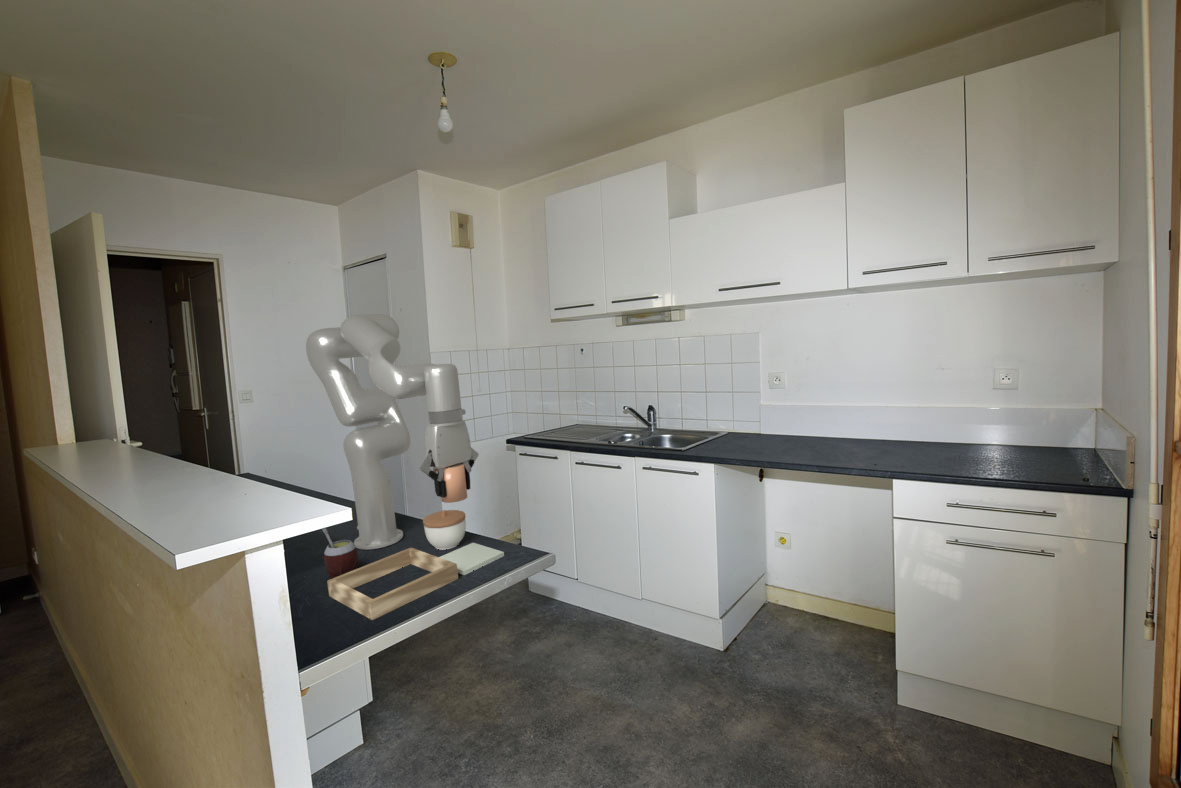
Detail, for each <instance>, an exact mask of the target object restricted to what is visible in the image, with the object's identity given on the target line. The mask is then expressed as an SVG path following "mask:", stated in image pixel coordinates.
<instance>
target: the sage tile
mask: <svg viewBox="0 0 1181 788" xmlns="http://www.w3.org/2000/svg"><path fill="white" fill-rule="evenodd" d="M438 557H439V558H442V559H445V560H447V561H450V562H453V563H456V564H457V571H458V575H459V574H460V575H462V576H466V575H467V574H470V573H472V572H474V571H476V570H478V569H480V568H483V567H485V566H487V565H489V564H491V563H493V562H495V561H497V560H499V559H501V558H503V557H505V552H504V551H501V550H498V549H495V548H492V547H488V546H486V545H482V544H479V543H475V542H471V543H469V544H467V545H464V546H462V547H460V548H457V549H455V550H453V551H452V550H451V551H450V552H448V553H446V554H443V555H441V556H438ZM482 566H483V567H482ZM473 570H474V571H473Z"/></svg>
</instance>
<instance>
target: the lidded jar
mask: <svg viewBox="0 0 1181 788" xmlns="http://www.w3.org/2000/svg"><path fill="white" fill-rule="evenodd" d="M466 522H467V521H466V513H465V512H464V511H462V510H459V509H457V510H456V509H448V510H446V509H442V510H441V511H437V512H433V513H431V514H429V515H427V516H425V517H424V518H423V520H422V524H423V528H424V530H423V531H424V534H425V536H426V539H427V541H428V542H429V544H430V545H432V546H433V547H434V548H435V549H436V550H438V549H439V550H440V551H445V550H446V549H447V550H451V549H453V548H457V547H458V546H459V545H460V542H461V541H462V540H463V539H464V537H465V534H466V526H467V524H466ZM457 545H458V546H457Z"/></svg>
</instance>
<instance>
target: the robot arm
mask: <svg viewBox="0 0 1181 788" xmlns="http://www.w3.org/2000/svg"><path fill="white" fill-rule="evenodd" d="M399 337H400V327H399V325H398V323H397V321H396V320H395V319H394V318H393V317H391V316H389V315H388V314H379V313H378V314H374V313H373V314H354V315H351V316H349V317H347V318H345V319H344V320H343V322H341V324H340V327H337V326H336V327H327V328H320V329H316V330H314V331H313V332H311V333H310V334H309V335H308V336H307V338H306V343H305V348H306V349H305V351H306V356H307V359H308V362H309V364H310V366H311V368H312V370H313V371H314V372H315V374H316V376H317V377H318V378H319V380H320V382H321V383H322V385H323V387H324V389H325V391H326V393H327V396H328V398H329V399H328V400H329V401H330V403H331V406H332V408H333V410H334V413H335V415H336V418H337V420H338V421H339V424H342V426H344V427H351V428H352V427H358V426H364V425H369V424H373V423H376V424H377V425H376V424H374V425H371V426H365V427H361V428H357V429H355V430H352V431H350V432H349V433H348V434H346V436H345V438H344V440H343V443H342V444H343V452H344V454H345V457H346V460H347V463H348V467H349V471H350V476H351V482H352V488H353V495H354V496H353V498H354V504H355V512H356V518H357V526H356V530H358V537H357V538H355V539H354V542H353V543H354V544H355V547H356V549H358V550H367V551H368V550H376V549H381V548H386V547H388V546H391V545H394V544H396V543H398V542H400V541H401V540H402V539H403V537H404V531H403V530H402V529H399V528H397V523H396V522H397V521H396V515H395V514H396V513H395V505H394V497H393V496H394V495H393V490H392V482H391V476H390V473H389V471H388V469H387V468H386V467H385V466H384V465H383V464H382V463H381V461H382V460H385V459H388V458H392V457H395V456H398V455H402V454H405V453H406V452H407V451H408V450H409V449H410V446H411V436H410V431H409V429H408V428H407V424H406V422H405V420H404V418H403V415H402V413H401V410H400V409H399V406H398V403H397V401H396V400H395V399H397V400H404V399H405V400H406V399H410V398H414V397H422V396H423V397H424V396H425V397H426V404H427V413H428V422H429V424H428V425H426V427H425V434H424V435H425V436H424V453H425V455H424V456H425V459H424V461H423V462H422V464H421V465H420V467H419V470H420V471H421V472H422V473H424V474H426V475H427V476H428V477H429V478H430V479H431V480H432V481H433V483H434V491H435V495H436V496H437V497H439V498H441V497H443V498H444V497H446V496H447V494H446V485H445V480H442V479H443V474H444V469H445V468H446V467H450V466H453V465H457V464H461V463H463V464H464V468H465V478H466V487H467V491H469V490H471V476H470V474H471V472H472V468H473V467H474V465H475V462H476V460H477V458H478V457H479V455H480V454H479V452H477V450H475V449H474V448H473V447H472V445H471V440H470V439H471V438H470V434H469V430H468V427H467V424H466V421H465V420H464V419H463V418H464V417H463V415H466V409H465V408H463V409H462V400H461V391H460V381H459V371H458V368H457V366H456V365H455V364H452V363H442V364H441V363H440V364H437V363H420V364H408V365H402V366H396V365H394V363H395V362H396V361H397V359H399V356H400V353H401V344H400V342H399ZM362 357H363V358H365V359H366V360H367V361H368V364H367V365H368V368H367V369H368V373H369V376H370V378H371V381H372V382H373V384H374V385H375V386H376V387H375V388H366V389H365V388H363V387H362V386H361V384H360V382H359V379H358V377H357V374H355V372H354V371H353V370H352V369H351V368H350V367H349V366H348V365H346V364H344V363H343V362H342V361H340V360H341V359H349V358H351V359H353V358H362ZM431 468H432V469H431ZM438 469H439V470H438Z"/></svg>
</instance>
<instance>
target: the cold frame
mask: <svg viewBox="0 0 1181 788" xmlns="http://www.w3.org/2000/svg"><path fill="white" fill-rule="evenodd" d="M439 557H440V556H437V555H433V554H430V553H428V552H425V551H422V550H419V549H416V548H413V547H409V548H406V549H403V550H401V551H399V552H396V553H393V554H390V555H388V556H387V557H386V556H385V557H384V558H381V559H379V560H376V561H373V562H370V563H368V564H366V565H363V566H361V567H359V568H358V567H357V569H355V570H353V571H350V572H348V573H345V574H343V575H340V576H338V577H335V578H333V579H330V580H329V579H328V580H327V581H326V582H327V583H326V584H327V590H328V596H329V598H332V599H333V600H336V601H337V602H339V603H341V604H342V605H344V606H346V607H348V608H349V609H351V610H353V611H355V612H356V613H358V614H361V615H362V616H364V617H366V618H368V619H369V620H370V621H374V620H376V619H378V618H380V617H382V616H384V615H386V614H388V613H391V612H393V611H395V610H396V609H399V608H401V607H403V606H405V605H407V604H409V603H411V602H413V601H416V600H417V599H419V598H421V597H424V596H425V595H428V594H430V593H431V592H434V591H436V590H438V589H440V588H443V587H444V586H446V585H448V584H451V583H453V582H454V581H456V580H459V573H458V571H457V564H456V563H453V562H450V561H447V560H445V559H442V558H439ZM410 565H412V566H415V567H418V568H420V569H423V570H426V571H428V572H429V573H427V574H425V575H423V576H420V577H419V578H416V579H414V580H412V581H410V582H408V583H405V584H404V585H401V586H399V587H396V588H394V589H392V590H389V591H388V592H385V593H383V594H381V595H379V596H377V597H375V598H374V597H373V598H372V597H370V596H367V595H366V594H364V593H362V592H360V591H358V590H356V589H355V588H358V587H360V586H363V585H364V584H367V583H369V582H371V581H374V580H377V579H379V578H381V577H383V576H386V575H388V574H391V573H393V572H396V571H397V570H400V569H403V568H405V567H407V566H410ZM402 567H403V568H402Z"/></svg>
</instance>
